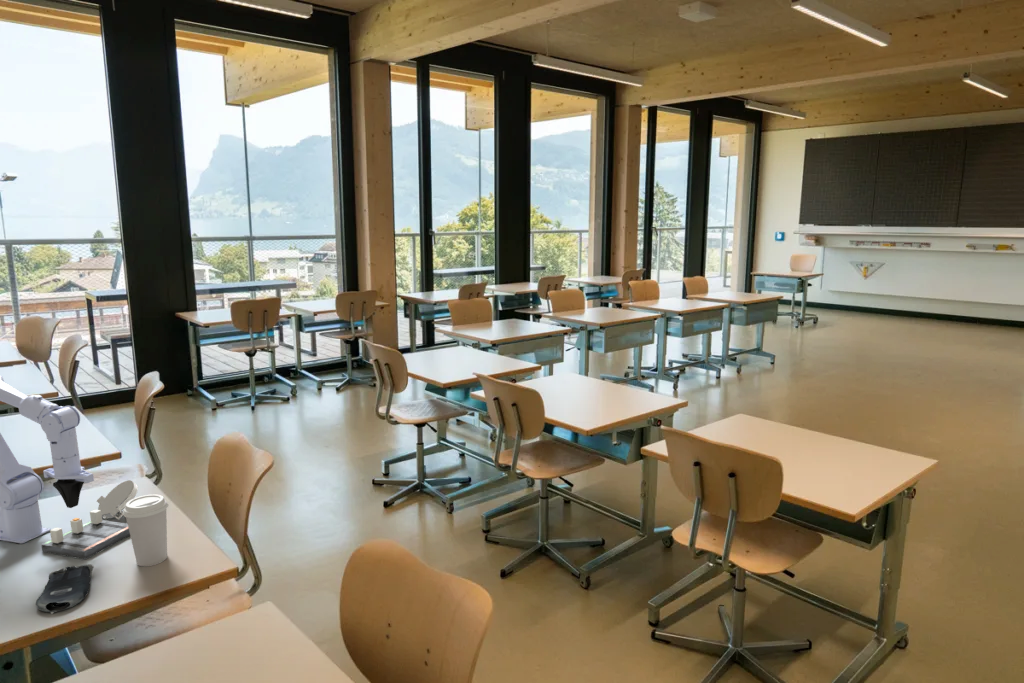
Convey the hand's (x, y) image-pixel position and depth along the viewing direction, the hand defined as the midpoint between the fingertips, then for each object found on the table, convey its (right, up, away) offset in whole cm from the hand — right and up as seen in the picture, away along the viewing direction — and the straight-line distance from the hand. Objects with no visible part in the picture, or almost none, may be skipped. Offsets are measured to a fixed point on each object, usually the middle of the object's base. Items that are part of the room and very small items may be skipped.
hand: (72, 506), depth 171 cm
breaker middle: (+1, -7, +1) cm, 7 cm away
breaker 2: (+2, -6, +6) cm, 9 cm away
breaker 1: (-1, -8, -4) cm, 9 cm away
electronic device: (+14, -14, -24) cm, 31 cm away
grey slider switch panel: (+4, -9, 0) cm, 10 cm away
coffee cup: (+25, -11, -10) cm, 29 cm away
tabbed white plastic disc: (+2, -6, +17) cm, 19 cm away
